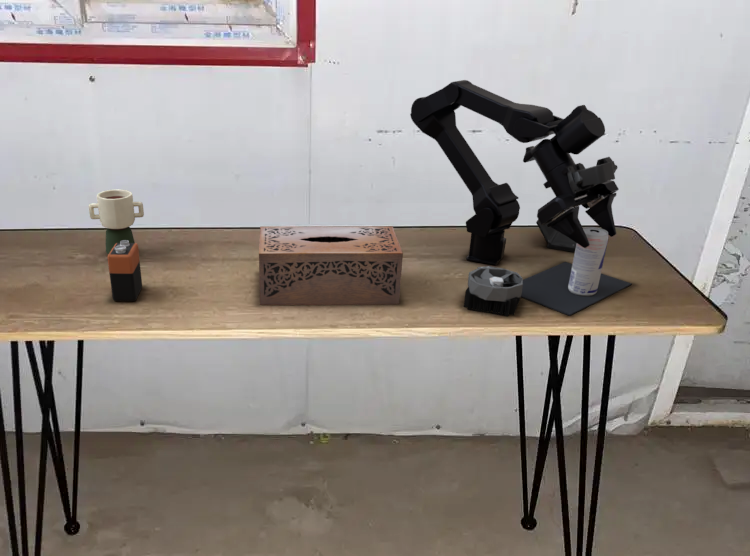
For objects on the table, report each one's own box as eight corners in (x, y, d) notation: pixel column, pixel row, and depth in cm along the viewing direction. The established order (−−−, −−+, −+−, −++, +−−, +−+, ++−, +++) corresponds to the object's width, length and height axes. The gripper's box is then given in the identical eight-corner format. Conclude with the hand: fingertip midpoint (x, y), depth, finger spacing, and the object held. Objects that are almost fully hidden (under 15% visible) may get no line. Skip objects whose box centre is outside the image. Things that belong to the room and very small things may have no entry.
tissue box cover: (389, 274, 156) (392, 226, 151) (399, 304, 143) (402, 253, 138) (261, 274, 155) (260, 226, 150) (259, 304, 142) (258, 253, 137)
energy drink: (598, 288, 150) (610, 229, 144) (594, 298, 146) (607, 238, 140) (569, 283, 152) (581, 224, 146) (565, 293, 148) (577, 233, 142)
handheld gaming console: (586, 245, 166) (563, 205, 165) (555, 262, 169) (532, 223, 168) (585, 236, 176) (563, 198, 175) (556, 252, 180) (534, 215, 178)
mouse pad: (501, 290, 150) (501, 288, 149) (565, 263, 162) (565, 261, 162) (569, 315, 140) (569, 314, 140) (631, 284, 153) (631, 283, 152)
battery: (112, 302, 143) (105, 250, 138) (120, 287, 149) (114, 237, 144) (135, 302, 143) (130, 251, 138) (143, 287, 149) (137, 237, 144)
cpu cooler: (519, 291, 136) (462, 282, 139) (515, 320, 138) (459, 310, 142) (528, 270, 144) (474, 262, 147) (523, 298, 147) (470, 289, 150)
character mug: (147, 247, 167) (142, 188, 161) (147, 259, 161) (141, 198, 155) (96, 249, 166) (88, 190, 159) (93, 262, 160) (85, 200, 153)
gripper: (562, 151, 132) (608, 230, 131) (619, 135, 143) (662, 208, 141) (517, 186, 141) (560, 260, 140) (574, 169, 152) (614, 238, 150)
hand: (600, 241), depth 142 cm, fingers open, 9 cm apart
